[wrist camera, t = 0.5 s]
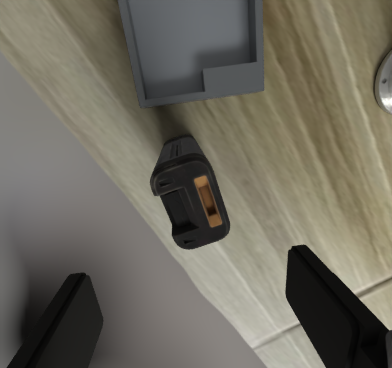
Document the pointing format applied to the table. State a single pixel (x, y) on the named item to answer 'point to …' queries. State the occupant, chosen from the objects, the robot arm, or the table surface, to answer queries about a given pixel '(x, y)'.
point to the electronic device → (189, 194)
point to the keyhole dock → (193, 49)
